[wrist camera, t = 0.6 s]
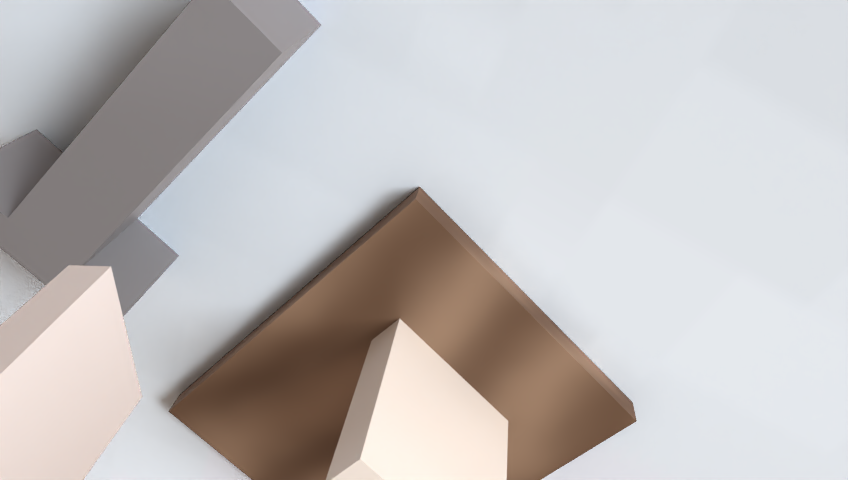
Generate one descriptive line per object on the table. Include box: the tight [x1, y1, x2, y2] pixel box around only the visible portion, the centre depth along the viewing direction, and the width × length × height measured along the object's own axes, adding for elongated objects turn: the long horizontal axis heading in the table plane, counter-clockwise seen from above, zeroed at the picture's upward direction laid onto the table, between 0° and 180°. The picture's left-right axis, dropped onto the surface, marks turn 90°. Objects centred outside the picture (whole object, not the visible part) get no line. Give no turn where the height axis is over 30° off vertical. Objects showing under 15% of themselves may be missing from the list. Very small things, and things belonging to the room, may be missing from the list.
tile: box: [326, 318, 508, 480], centre depth 34 cm, size 8×2×10 cm, turn 44°
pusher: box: [0, 0, 321, 316], centre depth 33 cm, size 9×16×6 cm, turn 134°
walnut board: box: [169, 187, 636, 480], centre depth 40 cm, size 16×19×2 cm
